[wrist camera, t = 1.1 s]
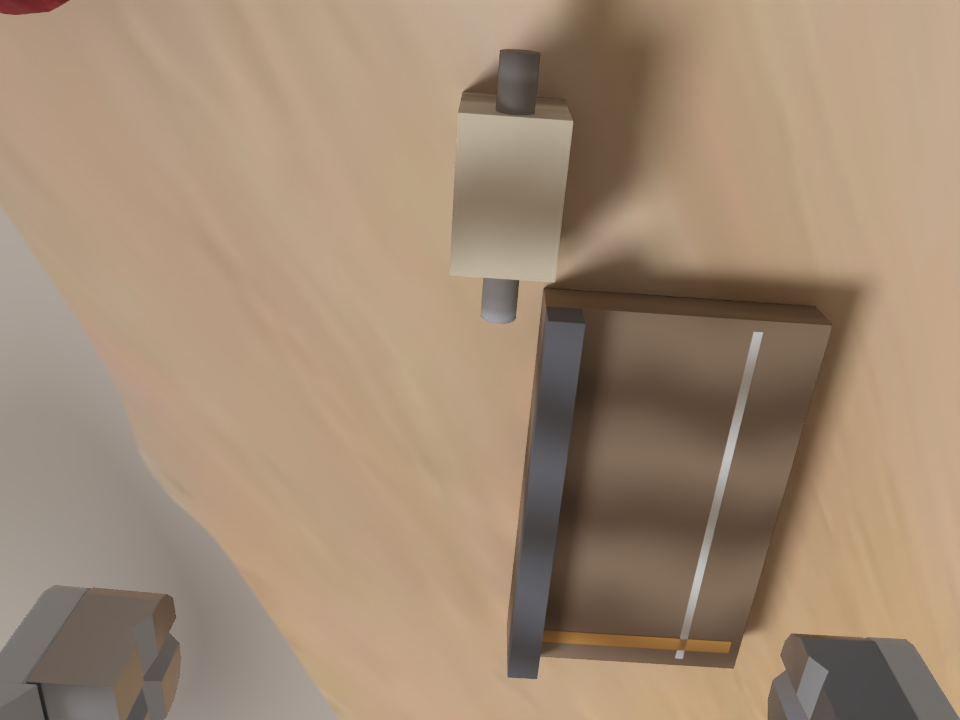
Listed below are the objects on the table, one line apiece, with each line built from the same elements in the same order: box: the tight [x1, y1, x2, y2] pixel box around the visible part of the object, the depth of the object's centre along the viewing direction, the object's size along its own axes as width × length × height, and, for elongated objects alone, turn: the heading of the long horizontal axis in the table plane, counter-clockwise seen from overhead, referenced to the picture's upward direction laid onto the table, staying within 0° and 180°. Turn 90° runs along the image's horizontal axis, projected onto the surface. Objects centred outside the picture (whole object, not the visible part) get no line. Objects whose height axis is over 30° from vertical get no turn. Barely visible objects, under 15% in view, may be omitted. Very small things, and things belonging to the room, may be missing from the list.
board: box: [507, 288, 832, 679], centre depth 39 cm, size 20×12×4 cm, turn 176°
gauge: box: [450, 49, 573, 324], centre depth 32 cm, size 10×4×4 cm, turn 176°
